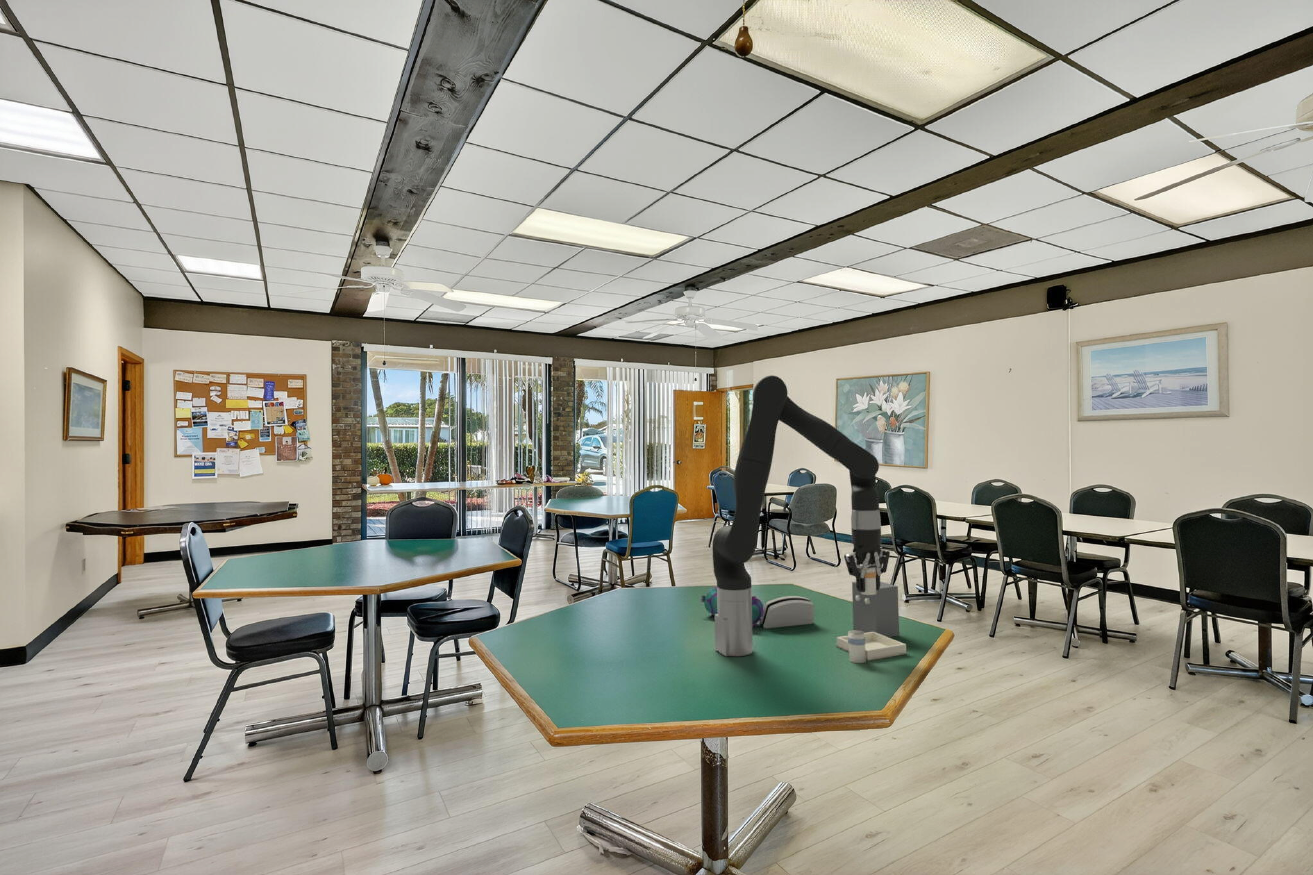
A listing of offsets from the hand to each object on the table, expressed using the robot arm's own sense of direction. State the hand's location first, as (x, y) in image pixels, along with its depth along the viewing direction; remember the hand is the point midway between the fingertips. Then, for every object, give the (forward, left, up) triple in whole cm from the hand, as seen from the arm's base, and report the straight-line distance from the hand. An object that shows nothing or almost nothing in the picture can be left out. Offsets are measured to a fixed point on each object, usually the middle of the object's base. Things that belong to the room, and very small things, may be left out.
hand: (868, 590), depth 164 cm
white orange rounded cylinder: (0, 0, -1) cm, 1 cm away
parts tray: (0, -1, -16) cm, 16 cm away
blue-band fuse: (-9, -6, -16) cm, 19 cm away
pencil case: (-20, +40, -16) cm, 48 cm away
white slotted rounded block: (-7, +29, -16) cm, 34 cm away
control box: (+12, +11, -16) cm, 23 cm away
